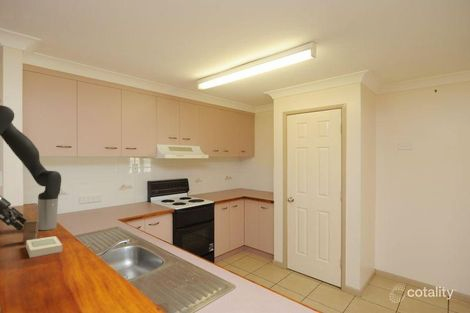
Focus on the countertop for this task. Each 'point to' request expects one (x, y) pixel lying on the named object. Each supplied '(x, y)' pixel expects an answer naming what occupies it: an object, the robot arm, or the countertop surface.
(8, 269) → the countertop surface
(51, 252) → the plinth
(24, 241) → the walnut block
